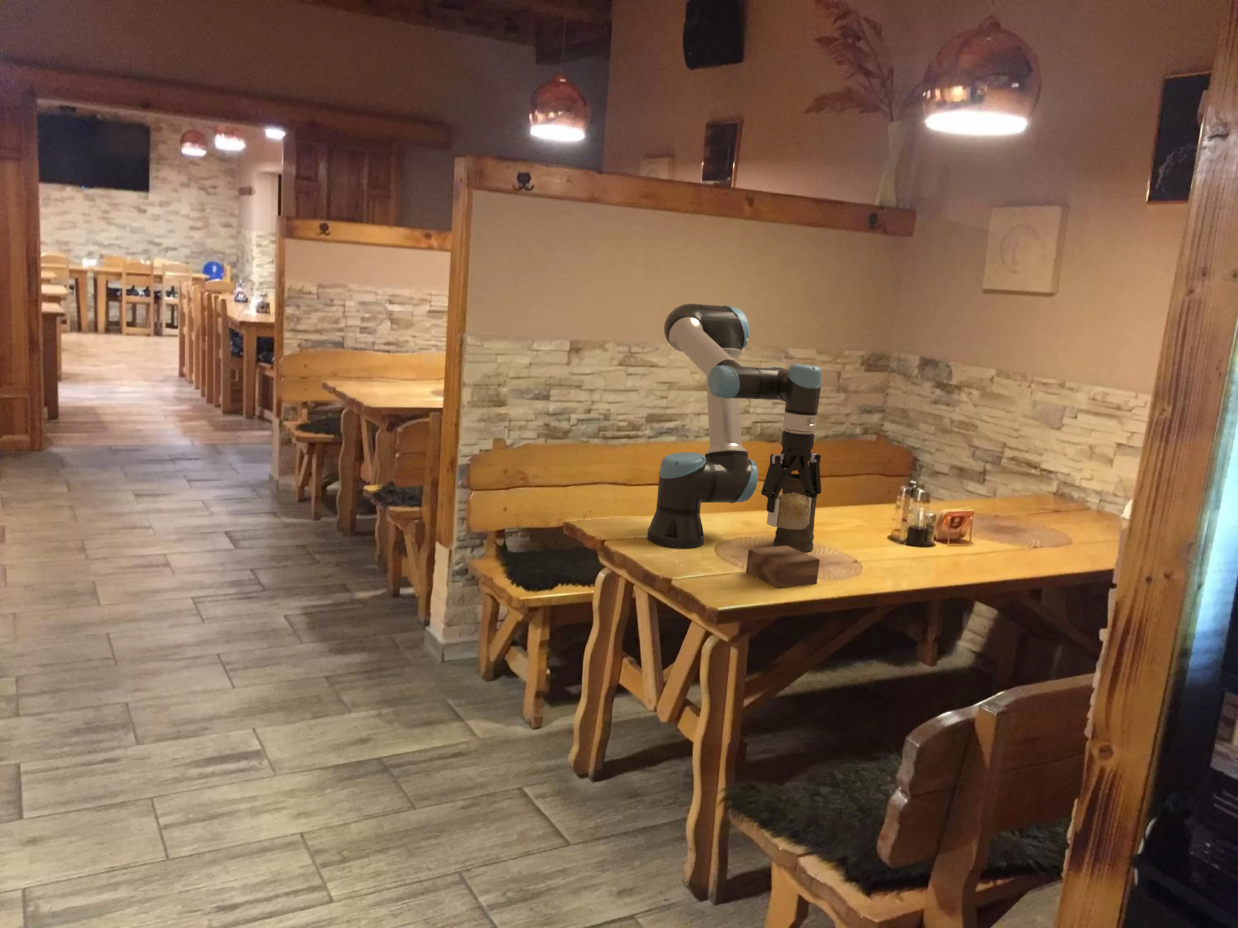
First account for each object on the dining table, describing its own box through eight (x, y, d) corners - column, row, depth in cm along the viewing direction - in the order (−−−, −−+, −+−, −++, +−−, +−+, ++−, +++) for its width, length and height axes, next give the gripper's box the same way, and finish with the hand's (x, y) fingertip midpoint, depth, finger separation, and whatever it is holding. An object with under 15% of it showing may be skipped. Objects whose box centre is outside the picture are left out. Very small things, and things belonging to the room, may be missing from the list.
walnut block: (745, 572, 236) (748, 549, 235) (783, 568, 243) (786, 545, 241) (778, 588, 226) (781, 563, 225) (816, 583, 233) (819, 559, 232)
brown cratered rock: (798, 532, 225) (802, 500, 224) (762, 523, 230) (766, 492, 229) (814, 525, 233) (818, 494, 231) (779, 517, 238) (782, 487, 237)
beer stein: (812, 555, 257) (822, 480, 254) (772, 549, 259) (781, 475, 256) (812, 544, 272) (822, 474, 269) (774, 539, 274) (782, 469, 271)
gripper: (772, 434, 219) (761, 531, 223) (844, 433, 230) (832, 525, 234) (751, 428, 225) (741, 522, 229) (822, 428, 237) (811, 517, 241)
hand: (787, 524), depth 232 cm, fingers closed on brown cratered rock, 9 cm apart
